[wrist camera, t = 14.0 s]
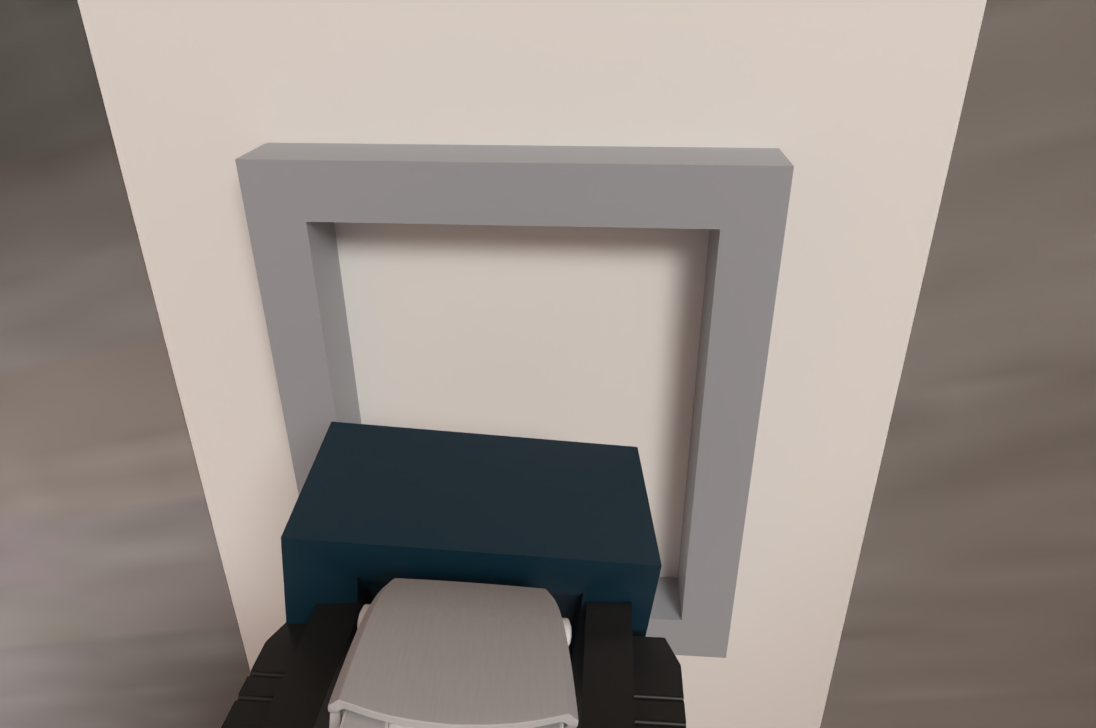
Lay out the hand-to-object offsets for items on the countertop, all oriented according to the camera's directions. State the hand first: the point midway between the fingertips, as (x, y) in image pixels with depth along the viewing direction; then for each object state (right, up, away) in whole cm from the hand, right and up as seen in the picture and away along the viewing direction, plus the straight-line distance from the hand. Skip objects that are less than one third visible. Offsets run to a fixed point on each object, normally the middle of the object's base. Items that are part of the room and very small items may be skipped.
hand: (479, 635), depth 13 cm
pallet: (+1, +1, +8) cm, 9 cm away
